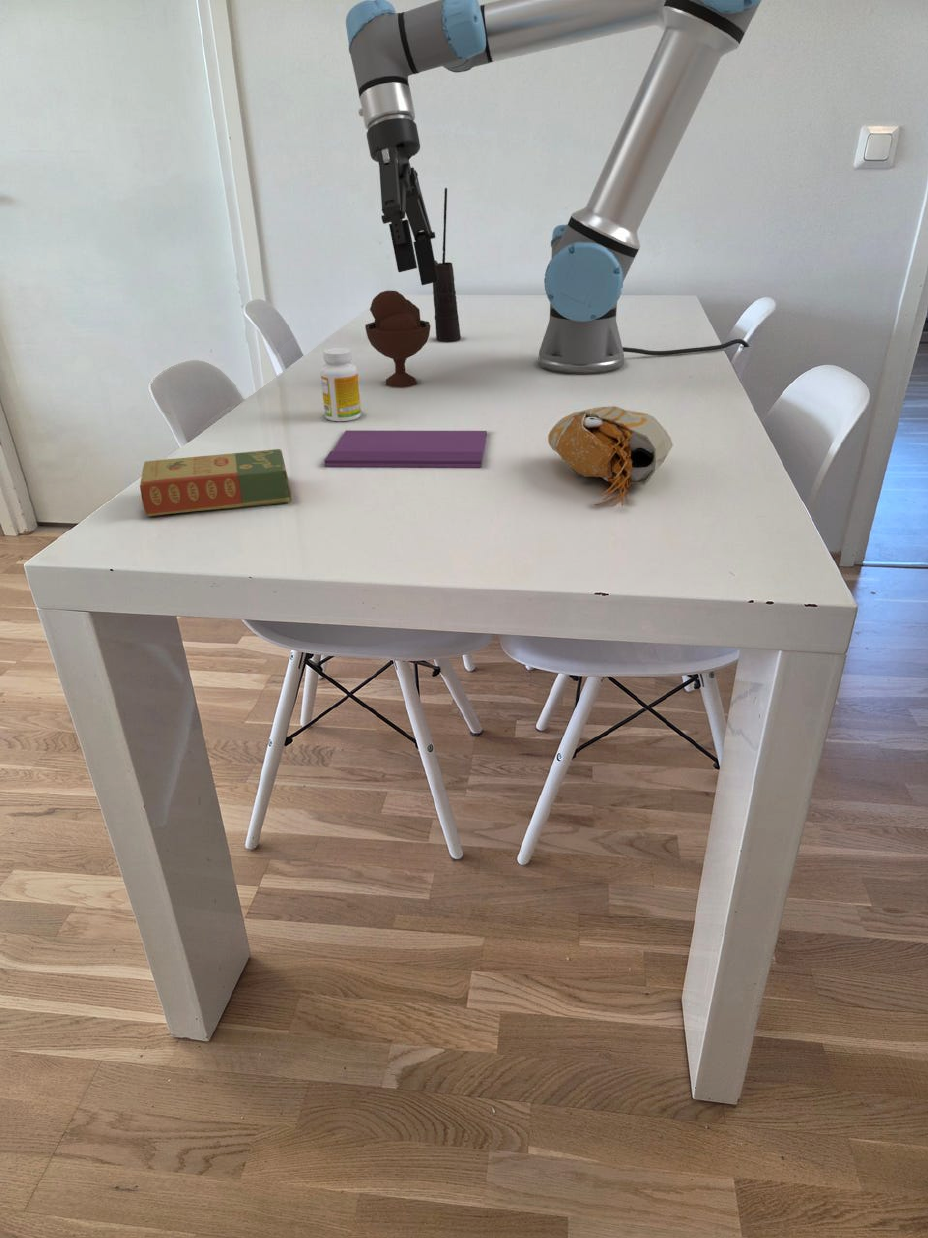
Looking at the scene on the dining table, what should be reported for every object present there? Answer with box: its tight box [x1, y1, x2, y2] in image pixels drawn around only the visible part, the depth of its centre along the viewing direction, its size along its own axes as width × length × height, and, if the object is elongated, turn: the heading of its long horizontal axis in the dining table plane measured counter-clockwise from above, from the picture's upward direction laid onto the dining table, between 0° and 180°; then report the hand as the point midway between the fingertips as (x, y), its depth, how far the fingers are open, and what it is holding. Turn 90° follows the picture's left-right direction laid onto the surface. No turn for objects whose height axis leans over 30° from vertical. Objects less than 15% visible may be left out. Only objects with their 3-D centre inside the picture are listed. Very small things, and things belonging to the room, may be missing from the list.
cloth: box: [324, 430, 488, 468], centre depth 112 cm, size 20×14×1 cm
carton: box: [139, 448, 293, 517], centre depth 97 cm, size 8×16×4 cm, turn 105°
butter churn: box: [432, 187, 462, 343], centre depth 167 cm, size 9×10×28 cm
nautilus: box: [547, 405, 674, 507], centre depth 98 cm, size 8×22×15 cm
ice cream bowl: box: [365, 290, 432, 388], centre depth 139 cm, size 11×11×15 cm
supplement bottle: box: [320, 347, 362, 422], centre depth 124 cm, size 5×5×10 cm
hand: (419, 276), depth 128 cm, fingers open, 13 cm apart
